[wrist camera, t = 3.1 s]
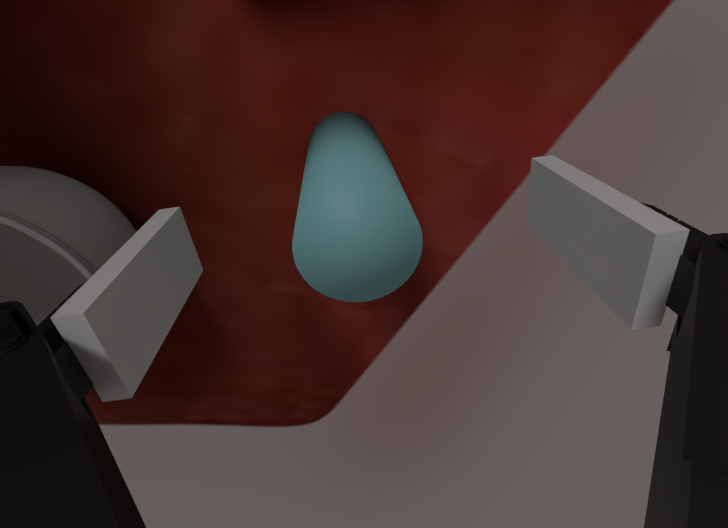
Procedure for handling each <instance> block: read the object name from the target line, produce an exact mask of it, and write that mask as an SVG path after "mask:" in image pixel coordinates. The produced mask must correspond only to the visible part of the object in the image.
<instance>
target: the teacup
mask: <svg viewBox="0 0 728 528" xmlns="http://www.w3.org/2000/svg"><path fill="white" fill-rule="evenodd" d="M135 233H136V230H135V229H134V227H133V226H132V224H131V223H130V221H129V220H128V219H127V218H126V216H125V215H124V214H123V213H122V212H121V211H120V210H119V209H118V208H117V207H116V206H115V205H114V204H113V203H112V202H111V201H110V200H108V199H107V198H106V197H104V196H103V195H102V194H100V193H99V192H97V191H96V190H94V189H93V188H91V187H89V186H87V185H85V184H83V183H81V182H80V181H77V180H75V179H73V178H70V177H68V176H65V175H62V174H59V173H56V172H52V171H48V170H45V169H39V168H33V167H26V166H0V303H2V302H8V301H19V302H20V303H22V304H23V305H24V307H25V308H26V310H27V311H28V313H29V314H30V316H31V317H32V319H33V321H34V322H35V324H36V325H37V326H38V325H39V324H40V323H41V322H42V321H43V320H44V319H45V318H46V317H47V316H48V315H49V314H50V313H51V312H52V311H53V310H54V309H55V308H58V305H59V304H60V303H61V302H62V301H63V300H64V299H67V296H69V295H70V294H71V293H72V292H73V291H74V290H75V289H76V288H77V287H78V286H79V285H81V284H83V283H84V282H86V281H87V280H89V279H90V278H91V277H92V276H93V275H94V274H95V273H96V272H97V271H98V270H99V269H100V268H101V267H102V266H103V265H104V264H105V263H106V262H107V261H108V260H109V259H110V258H111V257H112V256H113V255H114V254H115V253H116V252H117V251H118V250H119V249H120V248H121V247H122V246H123V245H124V244H125V243H126V242H127V241H128V240H129V239H130V238H131V237H132V236H133V235H134V234H135Z"/></svg>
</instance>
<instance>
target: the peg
mask: <svg viewBox="0 0 728 528" xmlns="http://www.w3.org/2000/svg"><path fill="white" fill-rule="evenodd" d="M422 246H423V239H422V231H421V228H420V224H419V222H418V220H417V218H416V216H415V213H414V211H413V209H412V207H411V205H410V203H409V201H408V199H407V196H406V194H405V192H404V190H403V188H402V186H401V184H400V181H399V179H398V177H397V175H396V173H395V171H394V169H393V166H392V164H391V162H390V160H389V158H388V156H387V154H386V152H385V149H384V147H383V145H382V143H381V141H380V139H379V137H378V134H377V132H376V130H375V129H374V127H373V126H372V125H371V123H370V122H369V121H368V120H366V119H365V118H364V117H362V116H360V115H358V114H355V113H351V112H337V113H333V114H331V115H329V116H327V117H325V118H324V119H322V120H321V121H320V122H319V123H318V124H317V125H316V127H315V128H314V130H313V132H312V134H311V137H310V140H309V146H308V152H307V158H306V164H305V170H304V176H303V181H302V187H301V193H300V199H299V205H298V211H297V217H296V222H295V228H294V234H293V241H292V251H293V257H294V261H295V264H296V266H297V268H298V270H299V272H300V274H301V275H302V277H303V278H304V279H305V280H306V282H307V283H308V284H309V285H310V286H312V287H313V288H314V289H315V290H317V291H318V292H320V293H322V294H324V295H326V296H328V297H330V298H333V299H336V300H341V301H347V302H364V301H370V300H375V299H378V298H381V297H383V296H386V295H388V294H390V293H391V292H393V291H395V290H396V289H398V288H399V287H400V286H402V285H403V284H404V283H405V282H406V281H407V280H408V279H409V277H410V276H411V275H412V273H413V272H414V270H415V269H416V267H417V265H418V263H419V260H420V257H421V253H422Z"/></svg>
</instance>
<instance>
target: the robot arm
mask: <svg viewBox="0 0 728 528" xmlns="http://www.w3.org/2000/svg"><path fill="white" fill-rule="evenodd" d="M528 198H529V199H528V209H527V222H526V226H527V227H528V228H529V229H530V230H531V231H532V232H533V233H534V234H535V235H536V236H537V237H538V238H539V239H540V240H541V241H542V242H543V243H544V244H545V245H546V246H547V247H548V248H549V249H550V250H551V251H552V252H553V253H554V254H555V255H556V256H557V257H558V258H559V259H560V260H561V261H562V262H563V263H564V264H565V265H566V266H567V267H568V268H569V269H570V270H571V271H572V272H573V273H574V274H576V276H577V277H578V278H579V279H580V280H581V281H583V283H584V284H586V286H587V287H588V288H590V289H591V290H592V291H593V292H594V293H595V294H596V295H597V296H598V297H599V298H600V299H601V300H602V301H603V302H604V303H605V304H606V305H607V306H608V307H609V308H610V309H611V310H612V311H613V312H614V313H615V314H616V315H617V316H618V317H619V318H620V319H621V320H622V321H623V322H624V323H625V324H626V325H627V326H628V327H629V328H630V329H631V330H633V329H640V328H648V327H655V326H660V325H661V322H662V319H663V316H664V313H665V310H666V306H668V307H669V308H670V309H671V310H673V311H674V312H675V313H676V314H678V317H677V321H676V323H675V327H674V330H673V333H672V336H671V339H670V342H669V345H668V348H667V351H670V359H669V366H668V372H667V379H666V386H665V392H664V399H663V405H662V412H661V419H660V425H659V432H658V439H657V445H656V452H655V458H654V465H653V472H652V478H651V485H650V491H649V499H648V505H647V512H646V518H645V524H644V528H728V233H721V234H712V235H707V234H705V233H703V232H701V231H700V230H698V229H696V228H694V227H692V226H690V225H688V224H686V223H684V222H683V221H678V219H677V218H675V217H673V216H671V215H667V213H666V212H664V211H662V210H660V209H658V208H656V207H654V206H652V205H648V204H644V203H641V202H638V201H636V200H634V199H632V198H630V197H628V196H626V195H624V194H623V193H621V192H619V191H617V190H615V189H613V188H612V187H610V186H608V185H606V184H604V183H603V182H601V181H599V180H597V179H595V178H593V177H592V176H590V175H588V174H586V173H584V172H582V171H580V170H578V169H577V168H575V167H573V166H571V165H569V164H568V163H566V162H564V161H562V160H560V159H558V158H556V157H555V156H553V155H552V156H543V157H536V158H532V161H531V173H530V185H529V197H528ZM202 272H203V268H202V266H201V263H200V260H199V258H198V255H197V252H196V249H195V247H194V244H193V241H192V239H191V236H190V233H189V230H188V228H187V225H186V222H185V220H184V217H183V214H182V211H181V209H180V207H174V208H167V209H160V210H158V211H157V212H156V213H155V214H154V215H153V216H152V217H151V218H150V219H149V220H148V221H147V222H146V223H145V224H144V225H143V226H142V227H141V228H140V229H139V230H138V231H137V232H136V233H135V234H134V235H133V236H132V237H131V238H130V239H129V240H128V241H127V242H126V243H125V244H124V245H123V246H122V247H121V248H120V249H119V250H118V251H117V252H116V253H115V254H114V255H113V256H112V257H111V258H110V259H109V260H108V261H107V262H106V263H105V264H104V265H103V266H102V267H101V268H100V269H99V270H98V271H97V272H96V273H95V274H94V275H93V276H92V277H91V278H90V279H89V280H87V281H86V282H84V283H83V284H81V285H79V286H78V287H77V288H76V289H75V290H74V291H73V292H72V293H71V294H70V295H69V296H67V299H64V300H63V301H62V302H61V303H60V304H59V305H58V308H55V309H54V310H53V311H52V312H51V313H50V314H49V315H48V316H47V317H46V318H45V319H44V320H43V321H42V322H41V323H40V324H39V325H38V326H37V325H36V324H35V322H34V321H33V319H32V317H31V316H30V314H29V313H28V311H27V310H26V308H25V307H24V305H23V304H22V303H20V302H19V301H8V302H2V303H0V528H146V526H145V524H144V522H143V520H142V518H141V515H140V513H139V511H138V509H137V507H136V505H135V503H134V500H133V498H132V496H131V494H130V492H129V490H128V487H127V485H126V483H125V481H124V479H123V477H122V474H121V472H120V470H119V468H118V466H117V464H116V461H115V460H114V457H113V455H112V453H111V451H110V449H109V446H108V444H107V442H106V440H105V438H104V435H103V433H102V431H101V429H100V427H99V425H98V422H97V420H96V418H95V416H94V414H93V412H92V409H91V407H90V406H89V404H88V403H87V401H86V400H85V398H84V397H85V396H86V394H87V393H88V391H89V390H90V388H91V387H92V386H93V387H94V389H95V390H96V392H97V393H98V395H99V397H100V398H101V400H102V401H103V402H106V401H114V400H121V399H128V398H132V397H133V395H134V393H135V392H136V390H137V388H138V386H139V384H140V383H141V381H142V379H143V377H144V375H145V374H146V372H147V370H148V368H149V367H150V365H151V363H152V361H153V359H154V358H155V356H156V354H157V352H158V350H159V349H160V347H161V345H162V343H163V341H164V340H165V338H166V336H167V334H168V333H169V331H170V329H171V327H172V325H173V324H174V322H175V320H176V318H177V316H178V315H179V313H180V311H181V309H182V308H183V306H184V304H185V302H186V300H187V299H188V297H189V295H190V293H191V291H192V290H193V288H194V286H195V284H196V283H197V281H198V279H199V277H200V275H201V274H202Z"/></svg>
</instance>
